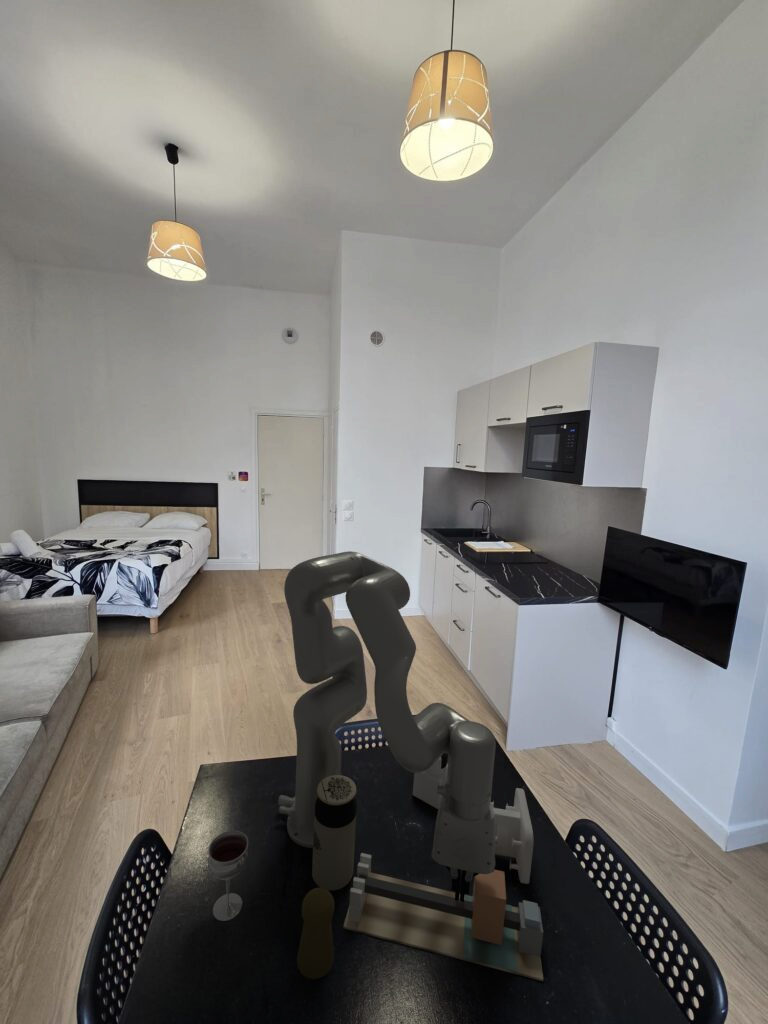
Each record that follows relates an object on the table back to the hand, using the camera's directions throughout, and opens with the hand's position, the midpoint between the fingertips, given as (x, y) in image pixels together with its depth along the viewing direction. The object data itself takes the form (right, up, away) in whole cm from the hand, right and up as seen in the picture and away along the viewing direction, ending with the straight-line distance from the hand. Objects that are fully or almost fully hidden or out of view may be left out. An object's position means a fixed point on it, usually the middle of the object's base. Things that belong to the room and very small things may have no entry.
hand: (459, 893), depth 79 cm
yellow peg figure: (-24, -6, -6) cm, 26 cm away
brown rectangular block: (+5, -5, 0) cm, 7 cm away
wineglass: (-41, -4, +2) cm, 41 cm away
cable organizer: (+10, -5, +15) cm, 19 cm away
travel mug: (-23, -4, +9) cm, 25 cm away
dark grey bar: (-3, -3, +1) cm, 5 cm away
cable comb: (-18, -5, +4) cm, 19 cm away
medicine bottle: (-1, -3, +31) cm, 32 cm away
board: (-3, -6, +1) cm, 7 cm away
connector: (+11, -7, -1) cm, 14 cm away
